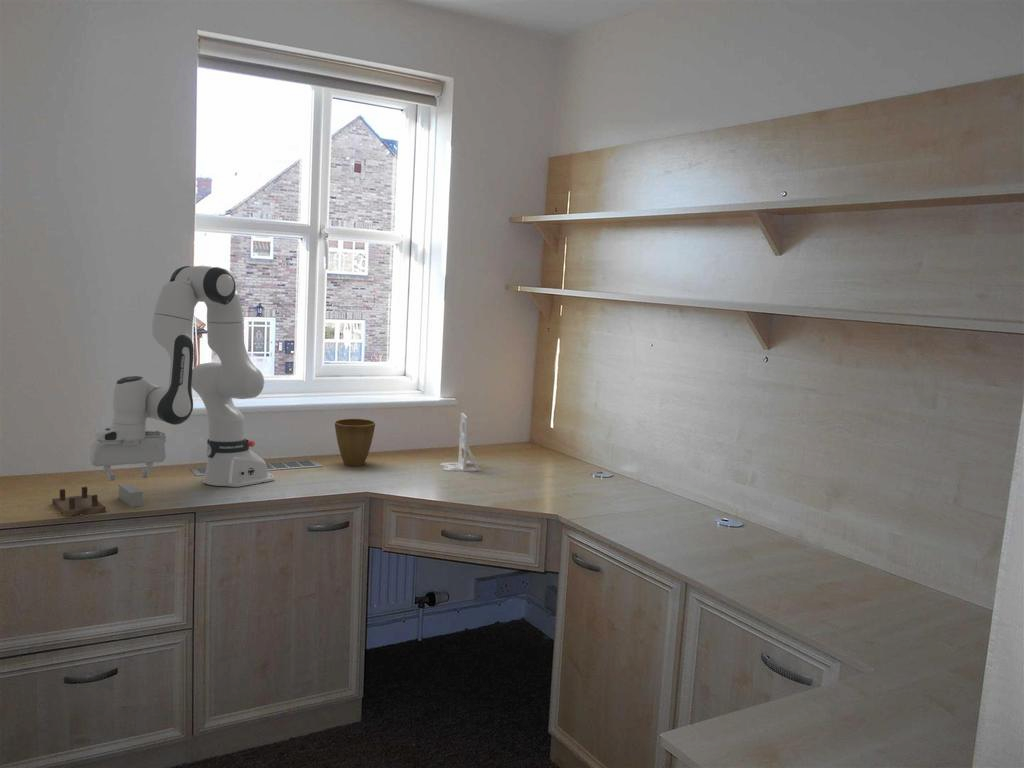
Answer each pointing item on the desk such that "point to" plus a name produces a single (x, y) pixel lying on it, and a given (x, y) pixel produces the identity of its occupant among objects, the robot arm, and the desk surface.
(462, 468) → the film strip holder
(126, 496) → the grey rectangular block
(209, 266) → the robot arm
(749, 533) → the desk surface
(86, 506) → the footed brown board
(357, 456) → the plant pot
